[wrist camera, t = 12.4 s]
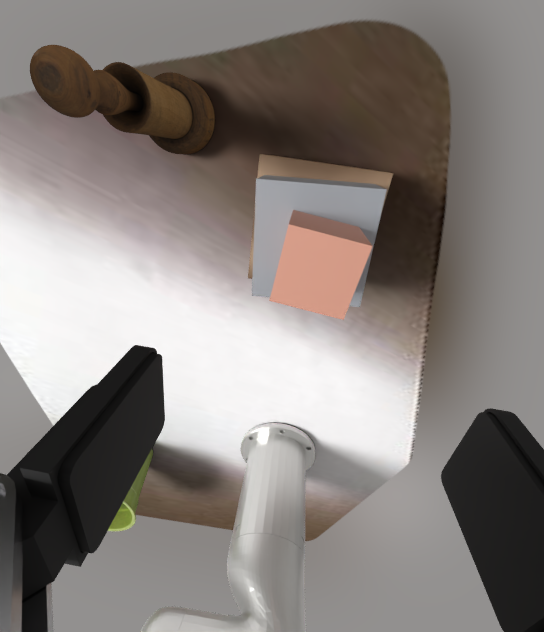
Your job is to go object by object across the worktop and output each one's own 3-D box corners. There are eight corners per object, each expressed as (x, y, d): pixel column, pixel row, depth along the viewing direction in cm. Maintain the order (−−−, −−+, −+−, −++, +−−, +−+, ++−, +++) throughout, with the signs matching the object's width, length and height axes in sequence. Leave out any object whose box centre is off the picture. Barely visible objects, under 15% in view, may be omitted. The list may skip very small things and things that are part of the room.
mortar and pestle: (197, 64, 28) (56, -51, 13) (225, 139, 31) (138, 122, 15) (139, 95, 30) (-50, 29, 14) (170, 164, 33) (40, 172, 17)
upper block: (352, 286, 32) (359, 307, 28) (259, 276, 33) (251, 295, 28) (374, 183, 27) (386, 189, 23) (264, 174, 28) (256, 178, 24)
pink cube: (336, 288, 27) (343, 319, 22) (277, 272, 27) (269, 300, 22) (359, 227, 24) (372, 246, 19) (293, 209, 24) (288, 224, 19)
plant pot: (91, 430, 55) (43, 490, 45) (146, 420, 52) (108, 482, 42) (124, 471, 60) (87, 534, 50) (176, 465, 57) (148, 530, 47)
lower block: (352, 278, 37) (357, 295, 33) (255, 263, 37) (248, 278, 33) (381, 170, 31) (393, 173, 27) (266, 154, 32) (259, 154, 27)
